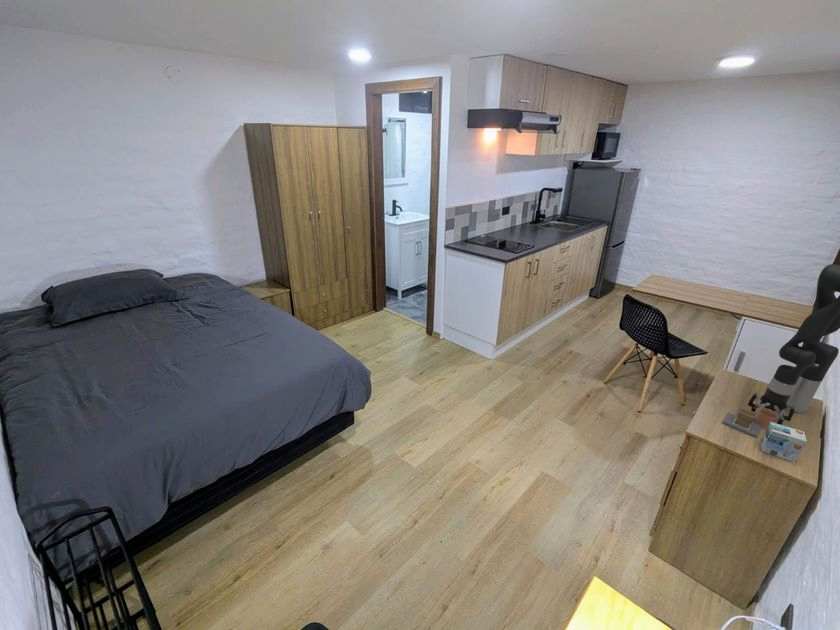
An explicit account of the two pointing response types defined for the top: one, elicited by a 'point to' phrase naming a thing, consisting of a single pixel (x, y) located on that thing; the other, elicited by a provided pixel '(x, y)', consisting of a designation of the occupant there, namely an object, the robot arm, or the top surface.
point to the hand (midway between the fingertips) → (764, 420)
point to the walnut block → (745, 418)
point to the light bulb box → (783, 441)
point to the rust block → (765, 418)
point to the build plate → (751, 431)
